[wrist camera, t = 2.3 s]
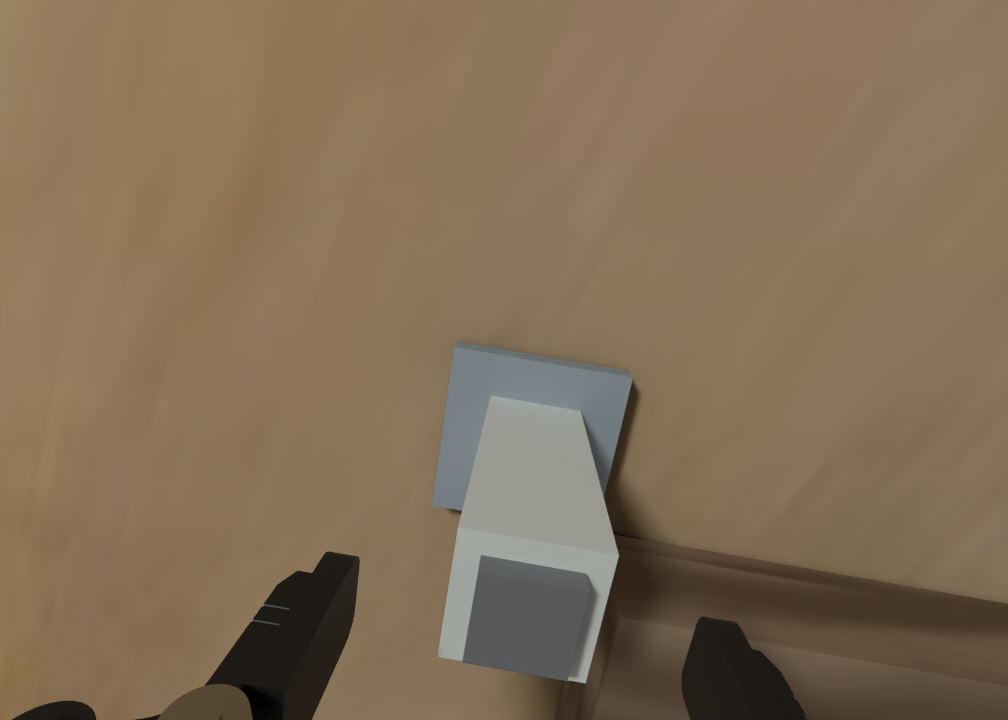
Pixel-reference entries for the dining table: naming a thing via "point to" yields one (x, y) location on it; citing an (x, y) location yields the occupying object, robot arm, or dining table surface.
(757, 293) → the dining table surface
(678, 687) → the socket block
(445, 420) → the thin square blue plate
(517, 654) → the plug
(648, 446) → the dining table surface
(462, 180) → the dining table surface
